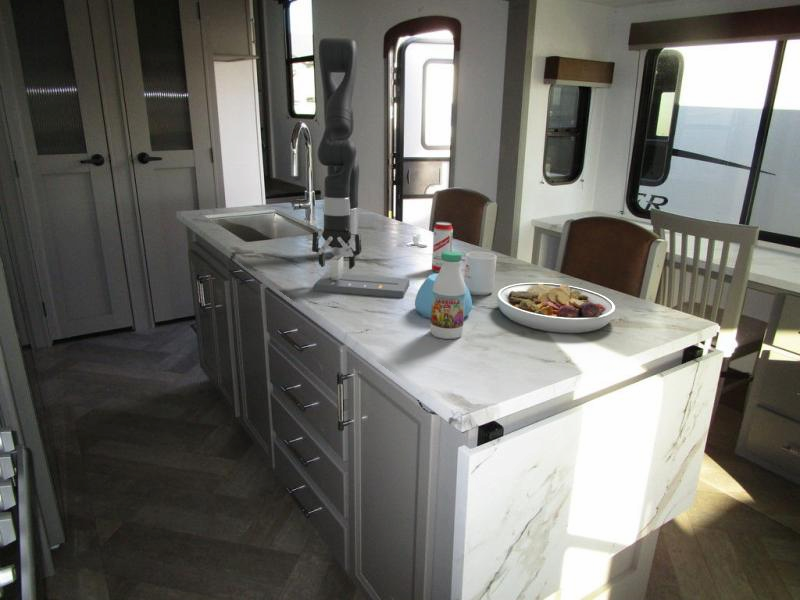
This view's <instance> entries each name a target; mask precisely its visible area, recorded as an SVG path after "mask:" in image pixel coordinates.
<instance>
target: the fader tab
mask: <svg viewBox="0 0 800 600" xmlns="http://www.w3.org/2000/svg"><path fill="white" fill-rule="evenodd" d="M329 264H330V266H329V267H330V268H329V271H330V272H329V273H330V277H331V280H337V281H338V280H339V279H340V278H341V277H342V274H344V257H343V256H342V255H335V256H334V255H333V257H332V258H330V259H329Z"/></svg>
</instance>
